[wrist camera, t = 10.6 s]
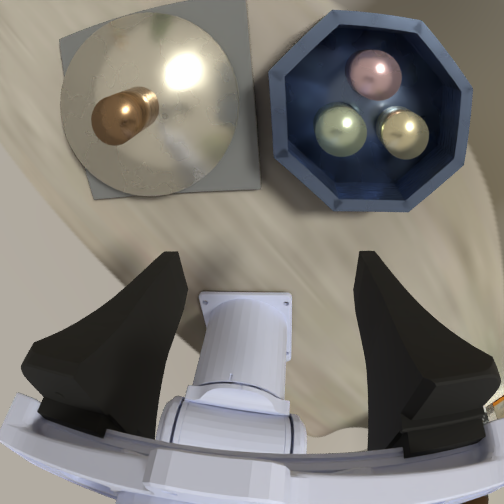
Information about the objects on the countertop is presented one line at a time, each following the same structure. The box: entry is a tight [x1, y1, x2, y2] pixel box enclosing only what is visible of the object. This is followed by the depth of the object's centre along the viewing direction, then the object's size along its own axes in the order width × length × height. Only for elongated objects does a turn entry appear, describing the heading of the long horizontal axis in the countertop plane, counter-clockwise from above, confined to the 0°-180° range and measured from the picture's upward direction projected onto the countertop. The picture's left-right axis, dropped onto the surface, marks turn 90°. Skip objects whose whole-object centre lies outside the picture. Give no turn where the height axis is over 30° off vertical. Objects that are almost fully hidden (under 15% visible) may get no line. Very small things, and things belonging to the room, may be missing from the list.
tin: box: [268, 10, 473, 212], centre depth 17 cm, size 12×12×3 cm
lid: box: [60, 12, 239, 196], centre depth 17 cm, size 12×12×4 cm
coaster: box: [59, 0, 261, 200], centre depth 19 cm, size 13×13×1 cm
